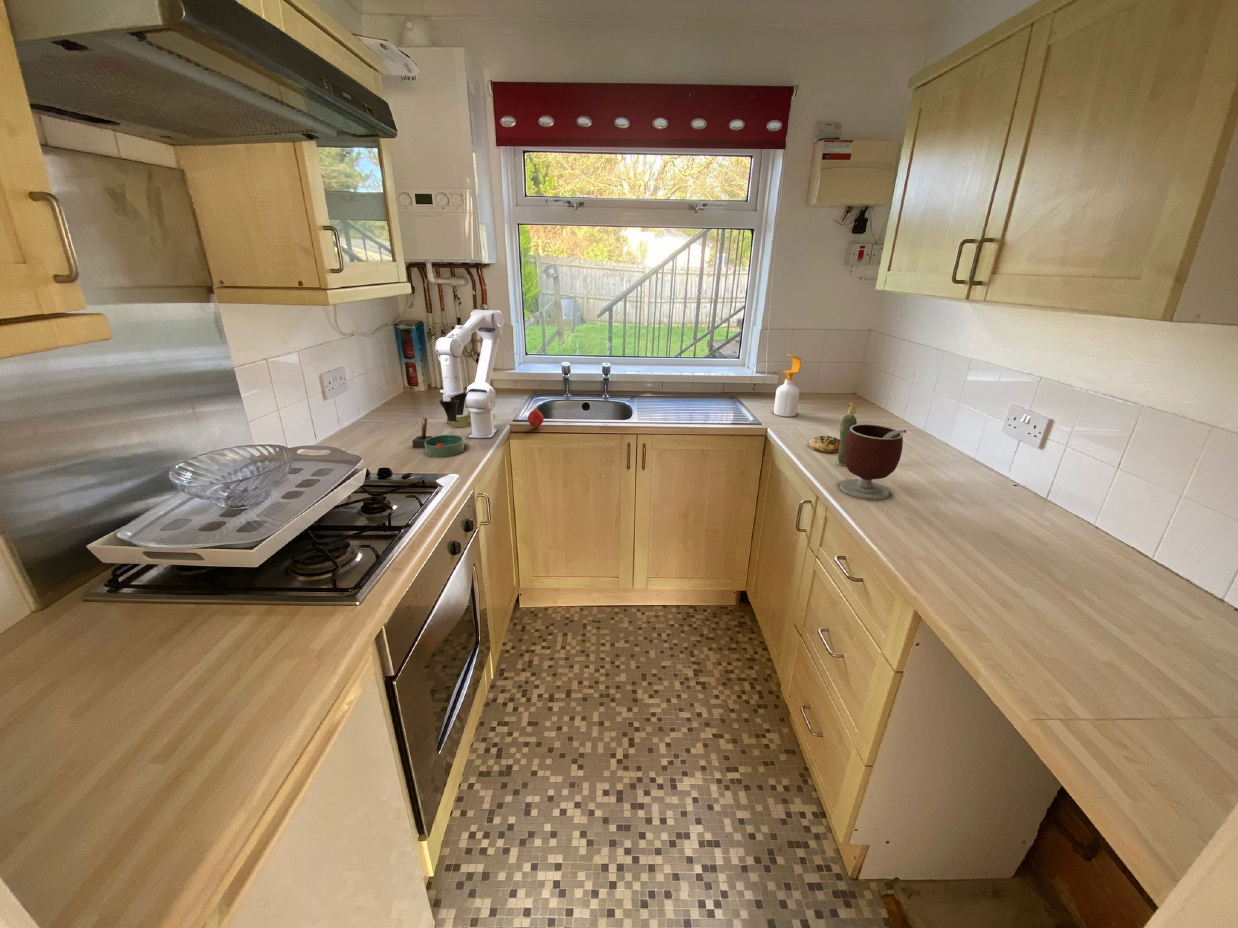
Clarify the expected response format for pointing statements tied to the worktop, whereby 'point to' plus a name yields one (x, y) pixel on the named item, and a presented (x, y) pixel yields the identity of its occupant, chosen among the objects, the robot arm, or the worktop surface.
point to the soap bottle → (788, 392)
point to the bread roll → (825, 444)
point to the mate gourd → (871, 458)
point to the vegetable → (846, 430)
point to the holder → (419, 442)
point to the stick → (424, 428)
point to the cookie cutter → (461, 421)
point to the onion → (535, 418)
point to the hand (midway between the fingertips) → (456, 418)
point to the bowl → (450, 448)
